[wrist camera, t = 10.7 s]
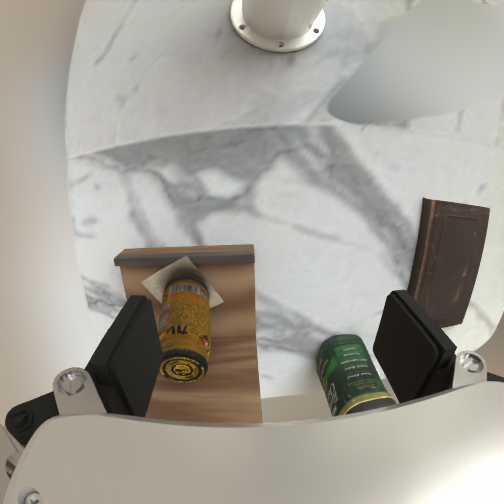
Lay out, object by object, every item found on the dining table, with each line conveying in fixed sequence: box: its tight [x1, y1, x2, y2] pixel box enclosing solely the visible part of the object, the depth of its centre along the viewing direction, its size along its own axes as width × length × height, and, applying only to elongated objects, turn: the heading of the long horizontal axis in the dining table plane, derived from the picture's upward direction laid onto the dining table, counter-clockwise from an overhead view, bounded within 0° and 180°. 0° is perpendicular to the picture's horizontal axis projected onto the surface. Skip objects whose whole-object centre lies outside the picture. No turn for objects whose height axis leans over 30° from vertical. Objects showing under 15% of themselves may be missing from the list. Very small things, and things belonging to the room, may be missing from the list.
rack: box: [114, 245, 262, 423], centre depth 30 cm, size 14×18×18 cm
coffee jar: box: [317, 334, 396, 417], centre depth 35 cm, size 10×8×19 cm
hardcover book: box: [407, 198, 490, 328], centre depth 39 cm, size 16×23×2 cm
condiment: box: [141, 256, 224, 383], centre depth 30 cm, size 7×8×12 cm
